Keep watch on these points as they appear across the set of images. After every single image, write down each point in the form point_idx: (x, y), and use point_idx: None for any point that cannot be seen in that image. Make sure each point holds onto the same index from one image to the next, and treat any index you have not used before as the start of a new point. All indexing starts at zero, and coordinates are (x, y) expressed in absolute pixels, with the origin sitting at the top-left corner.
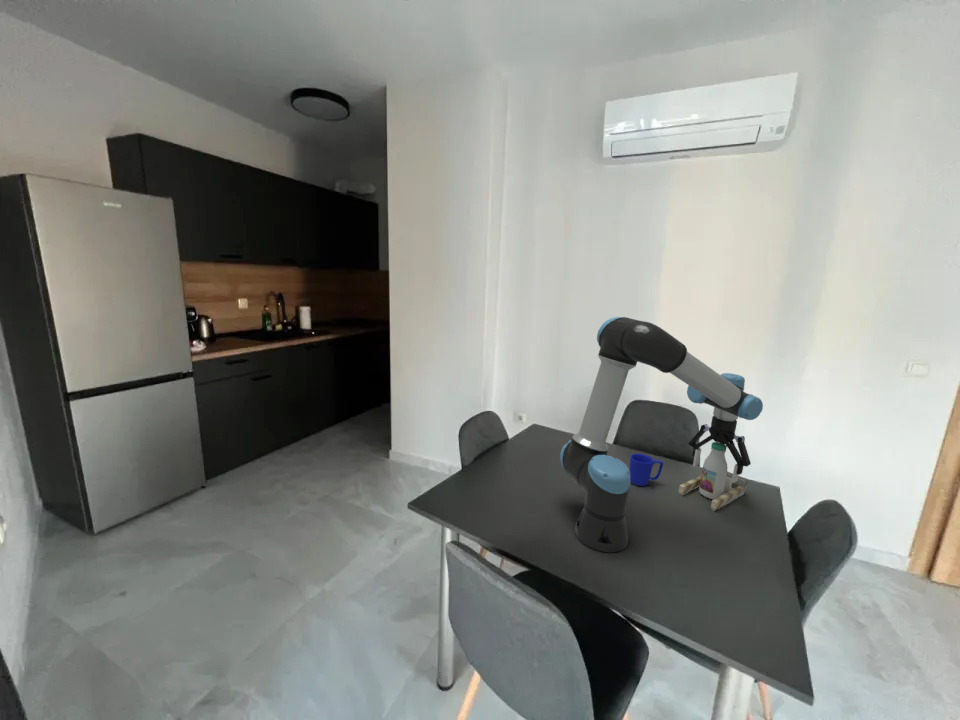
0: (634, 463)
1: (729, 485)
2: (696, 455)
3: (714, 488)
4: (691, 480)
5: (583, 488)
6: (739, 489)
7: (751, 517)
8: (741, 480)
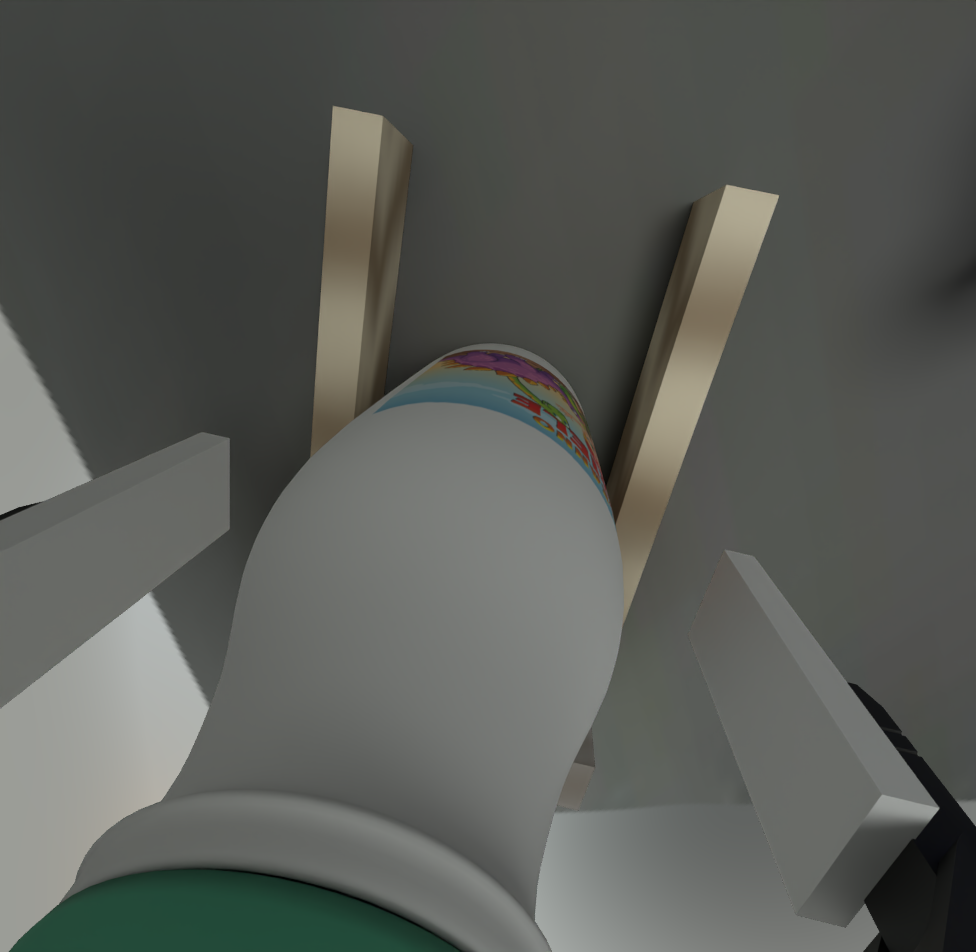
0: None
1: None
2: (813, 682)
3: (426, 367)
4: (679, 447)
5: None
6: None
7: (164, 318)
8: None
